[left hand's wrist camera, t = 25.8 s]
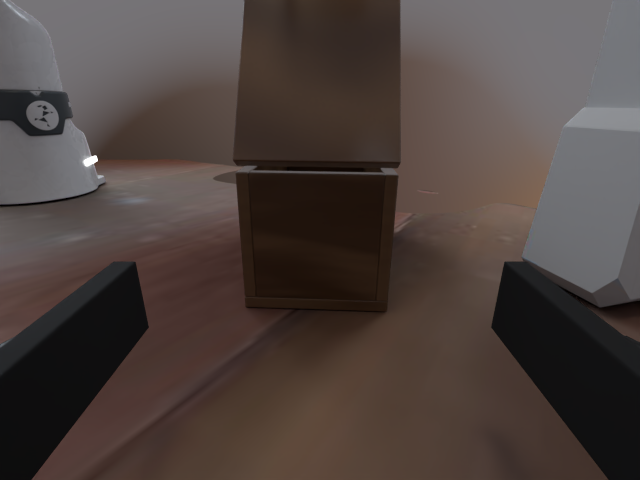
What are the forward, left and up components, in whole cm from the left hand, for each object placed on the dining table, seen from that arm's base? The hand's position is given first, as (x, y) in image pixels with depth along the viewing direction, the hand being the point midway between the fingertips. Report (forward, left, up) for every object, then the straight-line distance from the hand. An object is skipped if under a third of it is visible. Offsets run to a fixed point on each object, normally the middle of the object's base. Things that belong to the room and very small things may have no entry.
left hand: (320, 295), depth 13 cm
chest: (+14, -12, -6) cm, 19 cm away
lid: (+11, -9, +11) cm, 18 cm away
